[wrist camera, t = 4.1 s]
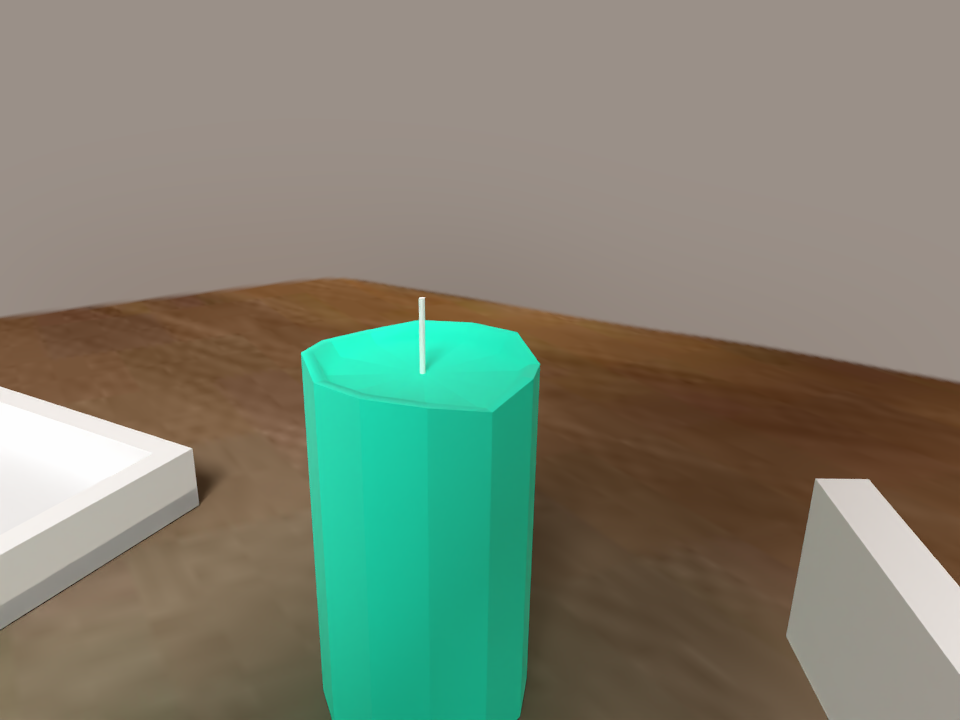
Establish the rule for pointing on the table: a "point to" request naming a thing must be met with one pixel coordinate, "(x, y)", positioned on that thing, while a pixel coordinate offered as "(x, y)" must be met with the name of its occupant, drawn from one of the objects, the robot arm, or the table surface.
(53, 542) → the tray
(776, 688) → the table surface
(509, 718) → the candle
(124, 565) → the table surface
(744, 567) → the table surface
